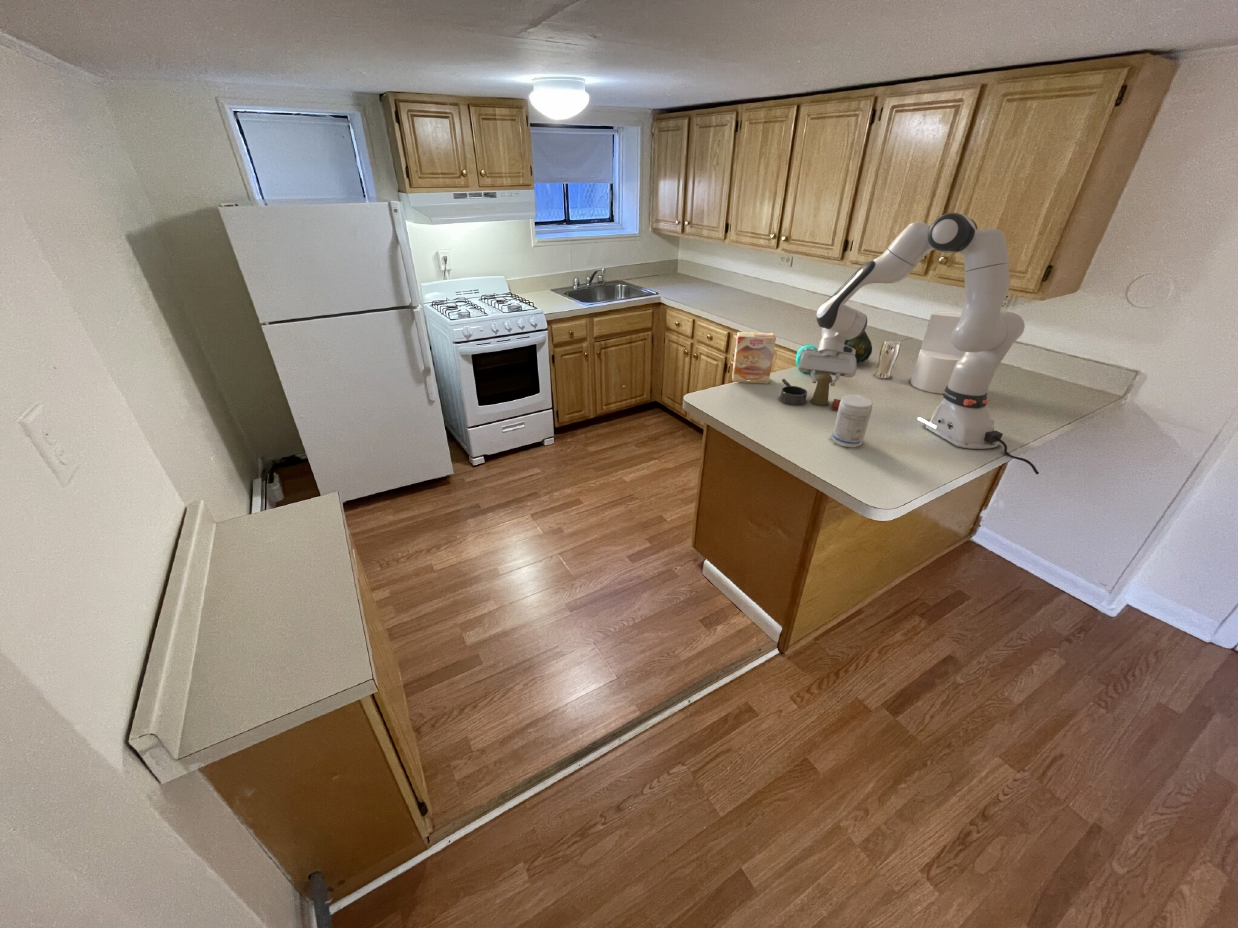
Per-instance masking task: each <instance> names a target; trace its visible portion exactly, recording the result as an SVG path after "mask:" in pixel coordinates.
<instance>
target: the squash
mask: <svg viewBox="0 0 1238 928" xmlns="http://www.w3.org/2000/svg"><path fill="white" fill-rule="evenodd" d="M844 345H846V346H849V347H851V348H854V349H855V350H856V352H855V357H856V365H858V364H859V363H864V362H866V361H868V360H869V358H870V356H871V355H872V352H873V343H872V341H871V340H870V337H869V336H868V333H867V332H866V330H865V331H864V333H863V334H862V335H860V336H858V337H856V338H853V339H850V340H845V342H844Z"/></svg>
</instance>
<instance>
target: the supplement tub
mask: <svg viewBox="0 0 1238 928" xmlns="http://www.w3.org/2000/svg"><path fill="white" fill-rule="evenodd" d="M840 400H841V401H840V405H839V409H838V411H837V413H836V417H835V421H834V425H833V430H832V435H831V439H832V441H833V442H834V443H835V444H837V445H838V446H842V447H846V448H857V447H859V446H861V445H862V444H863V441H864V440H865V439H864V438H865V435H866V431H867V427H868V424H869V420H870V416H871V413H872V410H873V405H874V403H873V401H872V400H871V398H870V399H869V398H868V397H866V396H863V395H858V394H850V395H849V394H848V395H847V394H846V395H843V396H842V397H841V399H840Z"/></svg>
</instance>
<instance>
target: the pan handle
mask: <svg viewBox="0 0 1238 928" xmlns="http://www.w3.org/2000/svg"><path fill="white" fill-rule="evenodd" d="M781 382H782V383H783V385H784V386H785V387H786V386H792V385H791V384H790V383H789V382H788V381H787V379H786V378H782V380H781Z"/></svg>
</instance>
